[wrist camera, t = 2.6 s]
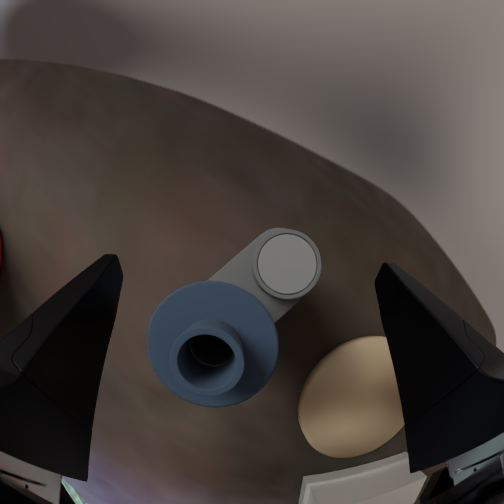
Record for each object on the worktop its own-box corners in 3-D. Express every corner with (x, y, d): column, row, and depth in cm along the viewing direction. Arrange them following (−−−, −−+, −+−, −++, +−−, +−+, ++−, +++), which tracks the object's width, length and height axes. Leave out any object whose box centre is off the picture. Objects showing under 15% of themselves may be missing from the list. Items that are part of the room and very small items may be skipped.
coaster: (401, 436, 15) (407, 441, 14) (292, 459, 14) (295, 466, 13) (419, 329, 16) (427, 330, 15) (301, 339, 15) (306, 343, 14)
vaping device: (194, 301, 15) (90, 342, 3) (263, 242, 16) (342, 131, 4) (224, 335, 15) (205, 461, 3) (292, 276, 16) (435, 246, 4)
